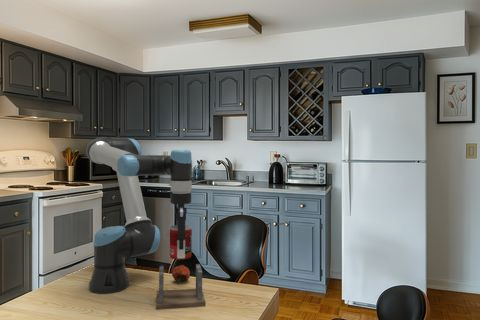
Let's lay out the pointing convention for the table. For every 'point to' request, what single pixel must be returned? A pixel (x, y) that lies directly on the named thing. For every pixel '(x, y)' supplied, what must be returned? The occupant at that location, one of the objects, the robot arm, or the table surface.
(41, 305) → the table surface
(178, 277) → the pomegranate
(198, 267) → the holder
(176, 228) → the canned food
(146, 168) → the robot arm
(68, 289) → the table surface
